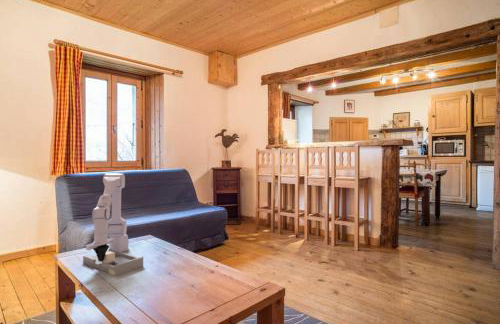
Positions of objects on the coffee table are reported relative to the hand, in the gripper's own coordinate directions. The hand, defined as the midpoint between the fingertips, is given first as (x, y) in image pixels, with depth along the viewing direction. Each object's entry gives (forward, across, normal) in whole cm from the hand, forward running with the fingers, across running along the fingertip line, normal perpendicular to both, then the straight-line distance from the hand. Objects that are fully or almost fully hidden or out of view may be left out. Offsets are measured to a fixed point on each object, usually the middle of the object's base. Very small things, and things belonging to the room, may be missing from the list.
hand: (100, 261), depth 136 cm
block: (+1, -3, +1) cm, 4 cm away
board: (+3, -5, +2) cm, 6 cm away
